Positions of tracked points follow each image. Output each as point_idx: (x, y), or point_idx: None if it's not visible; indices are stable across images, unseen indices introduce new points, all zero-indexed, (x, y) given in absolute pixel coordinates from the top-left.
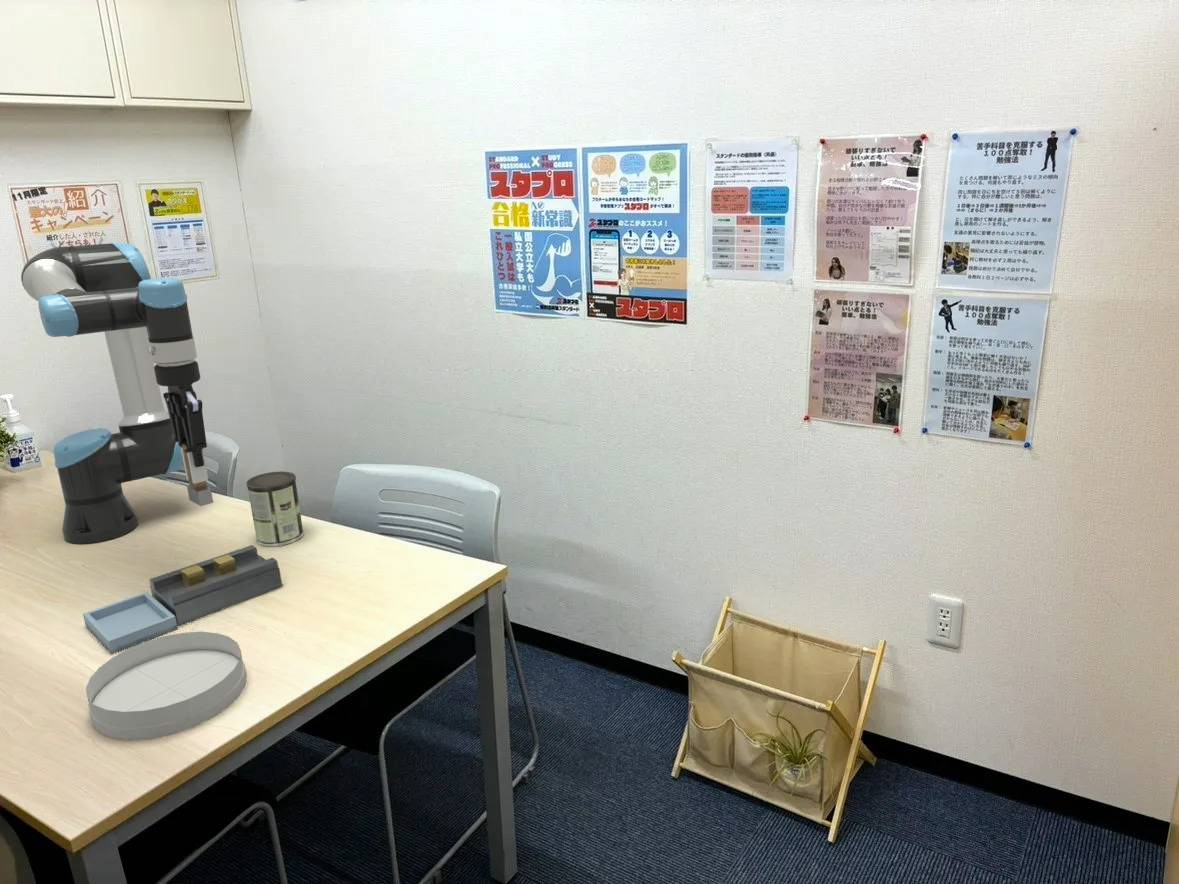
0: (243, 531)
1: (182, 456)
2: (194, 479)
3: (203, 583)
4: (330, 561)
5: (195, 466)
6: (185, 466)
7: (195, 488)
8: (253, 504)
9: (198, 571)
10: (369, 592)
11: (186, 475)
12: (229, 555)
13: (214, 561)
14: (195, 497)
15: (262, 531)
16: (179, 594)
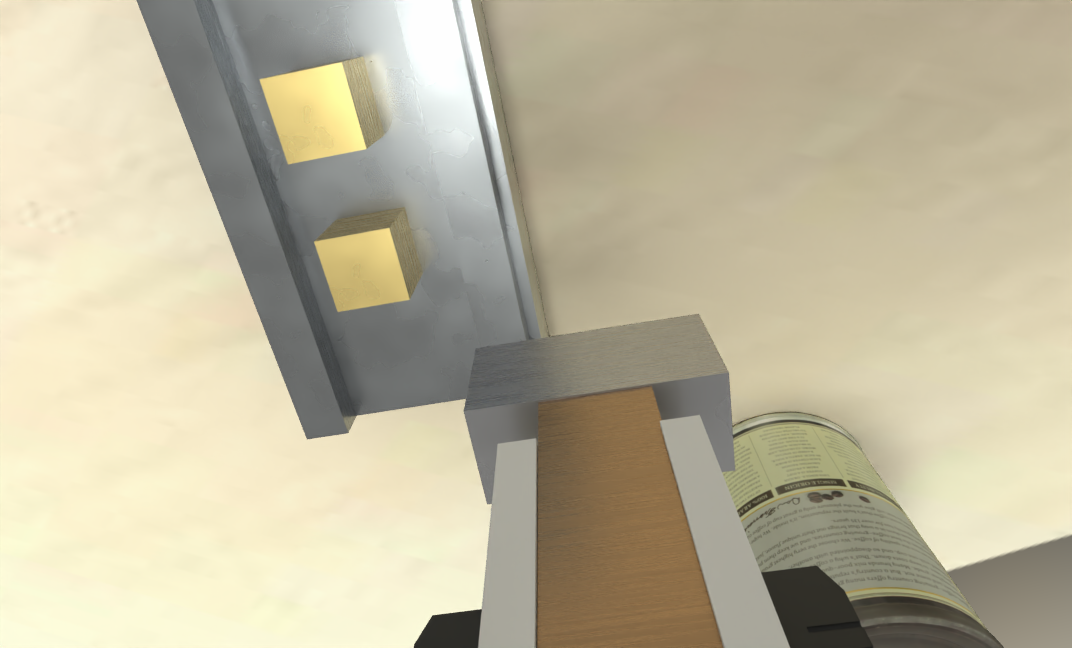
0: (958, 400)
1: (773, 621)
2: (495, 478)
3: (224, 134)
4: (438, 548)
5: (467, 615)
6: (689, 523)
7: (538, 416)
8: (824, 541)
9: (280, 138)
10: (144, 561)
11: (694, 445)
12: (392, 302)
13: (371, 230)
14: (548, 363)
15: (752, 464)
16: (148, 6)
